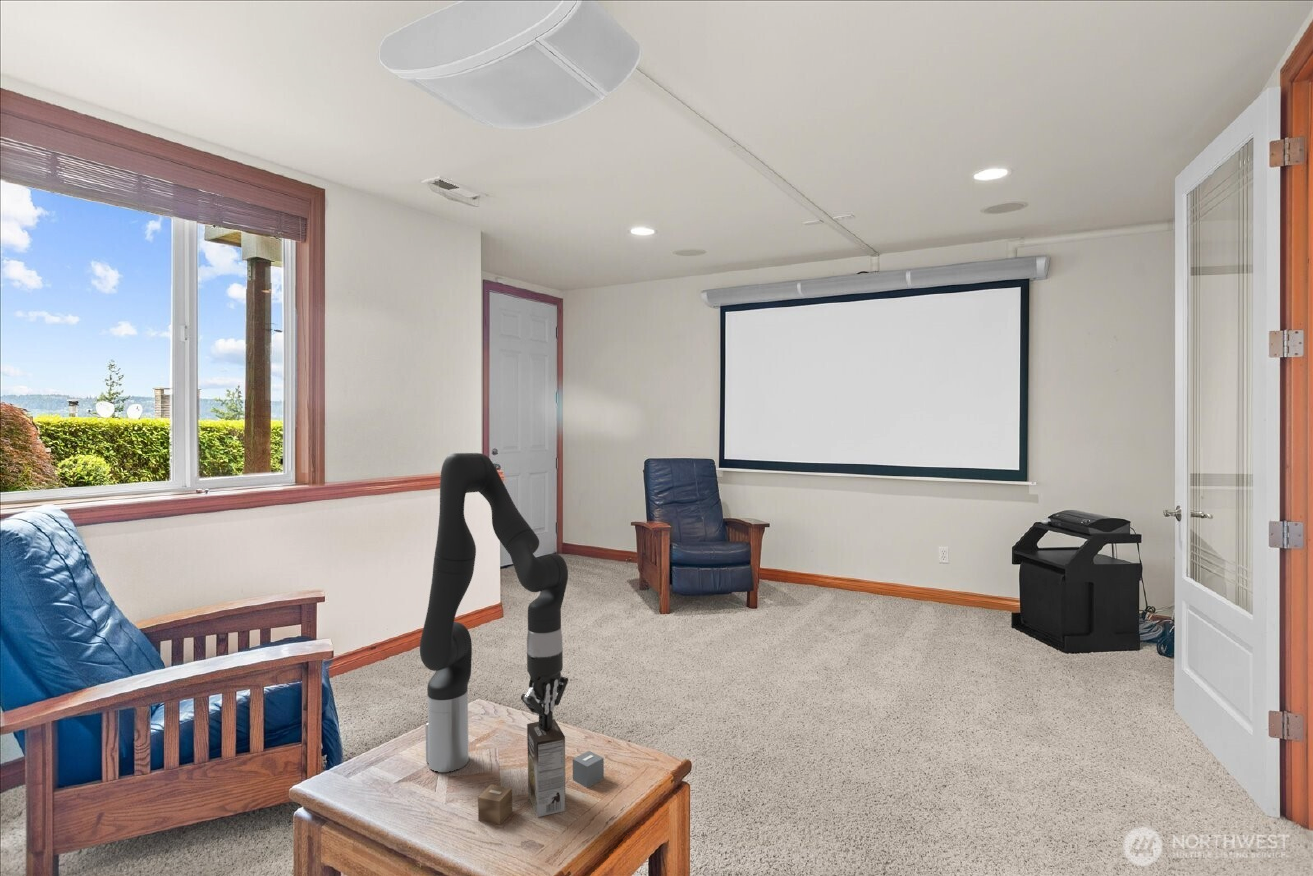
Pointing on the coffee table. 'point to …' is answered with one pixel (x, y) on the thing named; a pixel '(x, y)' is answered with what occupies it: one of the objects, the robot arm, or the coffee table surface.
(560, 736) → the coffee box
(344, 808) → the coffee table surface
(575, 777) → the slate block
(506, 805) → the walnut block
